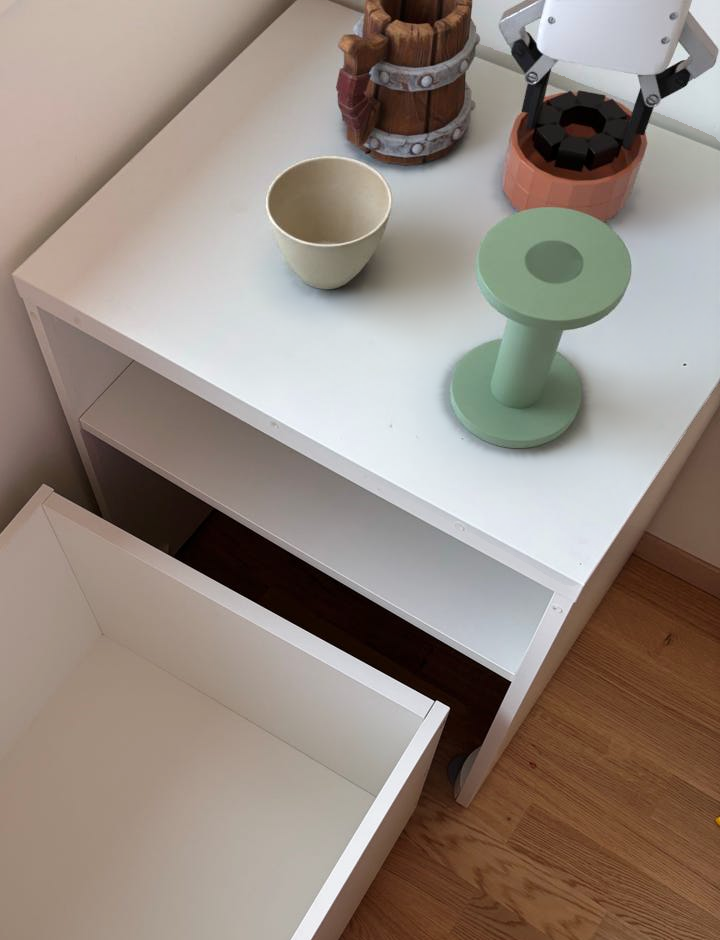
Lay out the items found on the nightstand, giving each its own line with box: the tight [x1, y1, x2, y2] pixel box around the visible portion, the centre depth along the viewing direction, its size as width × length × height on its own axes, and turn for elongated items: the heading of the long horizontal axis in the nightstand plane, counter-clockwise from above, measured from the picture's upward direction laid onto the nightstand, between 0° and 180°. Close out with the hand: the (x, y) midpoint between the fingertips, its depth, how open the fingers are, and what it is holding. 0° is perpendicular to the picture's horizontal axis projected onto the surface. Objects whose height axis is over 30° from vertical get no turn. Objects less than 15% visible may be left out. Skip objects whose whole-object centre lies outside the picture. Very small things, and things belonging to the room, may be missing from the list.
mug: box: [335, 0, 481, 166], centre depth 86 cm, size 12×14×15 cm
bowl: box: [501, 91, 648, 223], centre depth 85 cm, size 11×11×5 cm
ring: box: [532, 89, 629, 172], centre depth 83 cm, size 7×7×2 cm
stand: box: [449, 207, 632, 449], centre depth 72 cm, size 10×10×14 cm
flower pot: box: [265, 155, 393, 290], centre depth 82 cm, size 10×10×7 cm
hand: (580, 127), depth 82 cm, fingers closed on ring, 7 cm apart
